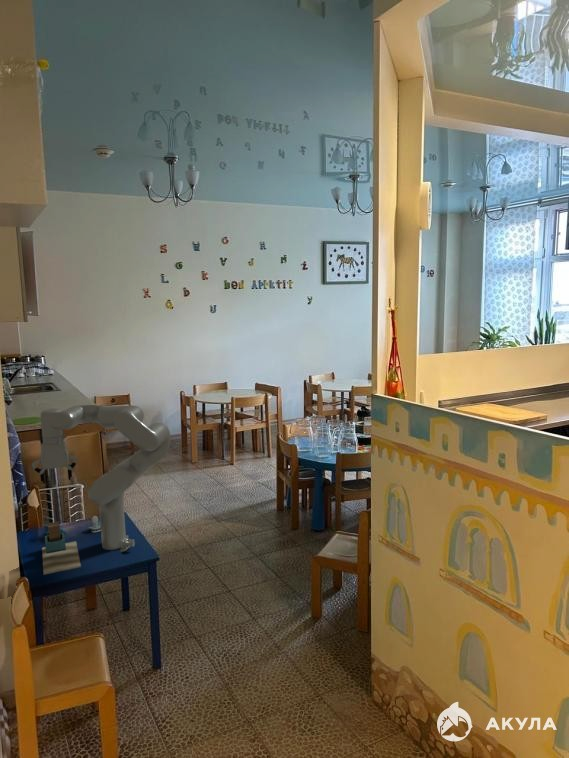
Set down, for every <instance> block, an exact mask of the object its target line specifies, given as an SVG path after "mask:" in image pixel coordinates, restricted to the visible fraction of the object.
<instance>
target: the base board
mask: <svg viewBox="0 0 569 758" xmlns="http://www.w3.org/2000/svg"><path fill="white" fill-rule="evenodd" d="M65 545H66V550H64V551H58V552H53V553H48V554H46V546H44V547H42V548H41V552H42V553H41V554H42V569H43V570H42V571H43V576H45V575H50V574H53V573H59V572H64V571H69V570H75V569H78V568H82V564H81V561H80V554H79V550H78V543H77V541H76V540H75V541H70V542H65Z"/></svg>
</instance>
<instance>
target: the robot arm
mask: <svg viewBox="0 0 569 758" xmlns="http://www.w3.org/2000/svg"><path fill="white" fill-rule="evenodd" d="M144 417H145V414H144V411H143V409H142V408H141V407H140V406H138V405H133V404H131V405H109V406H108V405H106V406H103V405H97V404H82V405H79V404H78V405H74V406H71V407H69V408H67V409H64V410H61V411H60V409H58V408H46V409H43V410H42V411H41V412H40V424H41V427H40V428H41V435H42V443H41V444H40V458H38V459H37V460H35V461H34V462H32V463H31V467H32V468H33V470H34V471H35V472H36V473H38V474H39V476H40V482H42V484H43V485H45V483H46V480H45V471H46V470H50V469H52V470H53V469H58V468H64V467H65V468H67V479H68V481H71V478H72V477H73V473H72V471H73V469H74V468H75V466H76V465H77V463H78V461H79V459H78V457H77V456H74V455H70V454H69V453H68V447H67V443H66V441H65V440H67V439H68V438H67V437H68V436H67V435H64V434H63V430H65V431H66V430H67V431H68V430H70V429H73V428H75V427H77V426H78V425H80V424H99V426H100V427H101V428H102V429H115V428H116V429H117V430H118V432H119V433H121V435H123V436H124V437H125V438H126V439H128V440H129V441H131V443H133V444H134V445H135V446H137V447H138V448H139V450H137V451H136V452H135V453H133V454H132V455H130V457H128V458H127V459H124V460H122V461H121V462H120V463H118V464H117V465H116V466H115V467H113V468H112V469H111V470H110V471H108V472H106V473H104V474H102V475H101V476H100V477H99V478H97V479H96V480H95V481H93V482H92V484H91V485H90V486H89V488H88V491H87V497H88V499H89V501H90V502H91V503H92V504H94V505H96V506H98V511H99V522H100V526H101V528H100V529H101V531H100V537H101V547H102V549H103V550H106V551H107V550H108V551H114V550H118V549H119V550H120V552H121V553H124V552H125V551H127V550H129V548H131V547H135V544H136V543H135V539H131V538H129V534H126V533H127V532H126V531H127V530H126V520H125V504H124V503H125V502H124V499H125V497H124V495H125V494H124V493H125V492H126V491H127V490H128V489H130V488H131V487H132V486H133V485H134V484H135V483H136V482H137V481H138V479H139V478H141V477H142V475H144V474H145V473H146V472H147V473H148V471H149V470H151V469H152V468H153V467H154V466H156V464H159V462H160V461H161V460H162V459H163V458H164V457H165V455H166V454H167V453H168V451H169V448H170V445H171V439H172V437H171V432H170V429H169V427H168V426H167V425H166V424H165V423H163V422H162V423H161V422H155V423H152V424H150V425H148V426H147V425H145V424H144V423H143V421H144ZM70 460H72V461H73V462H72V463H71V464H69V461H70ZM39 464H41V467H38V466H39ZM37 465H38V466H37Z"/></svg>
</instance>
